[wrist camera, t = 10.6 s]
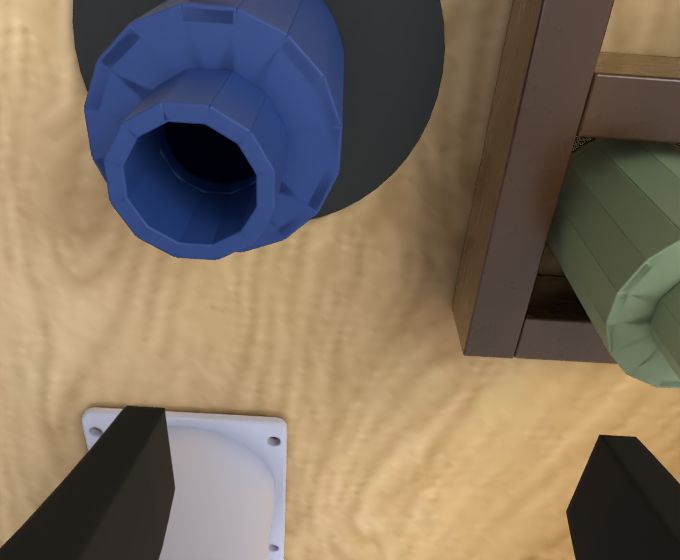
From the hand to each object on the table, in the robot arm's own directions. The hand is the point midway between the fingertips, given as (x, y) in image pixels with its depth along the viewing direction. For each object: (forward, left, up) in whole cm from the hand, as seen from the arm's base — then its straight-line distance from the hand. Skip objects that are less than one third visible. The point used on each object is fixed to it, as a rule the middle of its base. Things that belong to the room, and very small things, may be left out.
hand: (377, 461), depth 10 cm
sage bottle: (0, -8, -10) cm, 13 cm away
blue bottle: (+4, +3, -10) cm, 11 cm away
